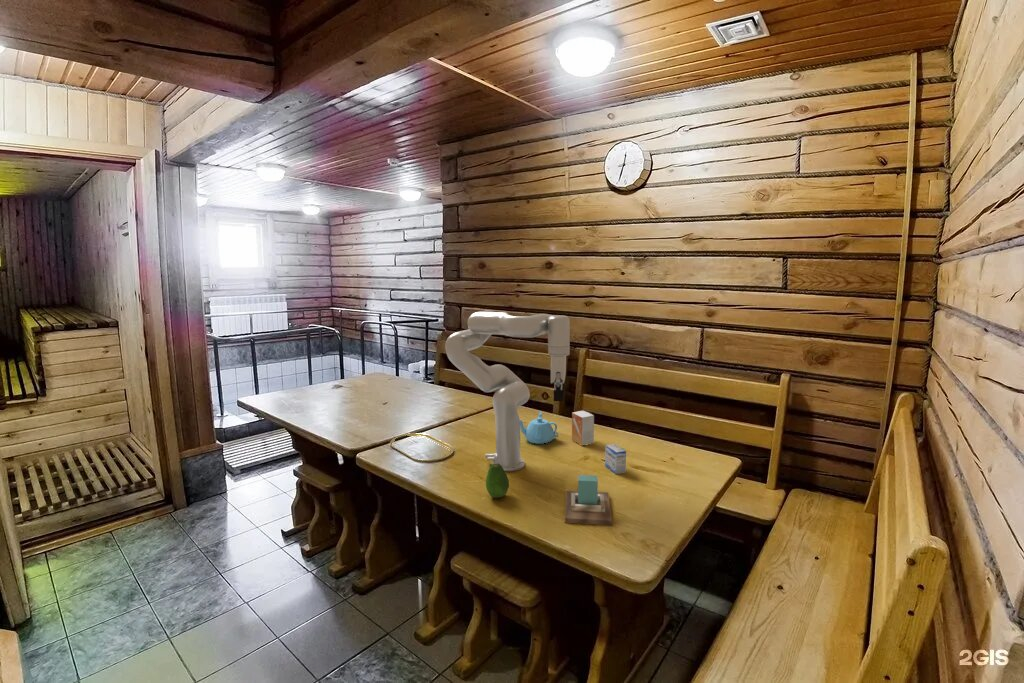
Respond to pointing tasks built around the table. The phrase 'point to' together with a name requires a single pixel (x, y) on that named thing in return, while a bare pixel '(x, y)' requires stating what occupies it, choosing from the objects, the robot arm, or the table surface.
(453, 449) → the serving platter
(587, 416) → the small box
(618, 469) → the medicine box
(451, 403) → the table surface
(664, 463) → the table surface
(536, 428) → the teapot
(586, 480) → the plug
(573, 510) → the socket block
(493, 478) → the avocado
